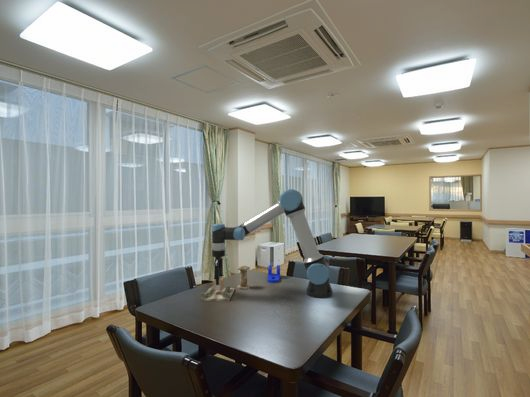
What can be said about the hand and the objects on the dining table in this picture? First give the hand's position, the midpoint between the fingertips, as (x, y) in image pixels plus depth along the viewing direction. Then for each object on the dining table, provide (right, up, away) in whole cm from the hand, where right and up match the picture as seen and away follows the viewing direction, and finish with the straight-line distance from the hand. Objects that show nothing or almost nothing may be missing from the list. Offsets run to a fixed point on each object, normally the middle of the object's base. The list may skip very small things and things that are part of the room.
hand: (218, 288), depth 170 cm
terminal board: (0, -4, 0) cm, 4 cm away
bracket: (+34, -4, +33) cm, 48 cm away
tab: (0, 0, 0) cm, 0 cm away
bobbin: (+14, -4, +14) cm, 20 cm away
